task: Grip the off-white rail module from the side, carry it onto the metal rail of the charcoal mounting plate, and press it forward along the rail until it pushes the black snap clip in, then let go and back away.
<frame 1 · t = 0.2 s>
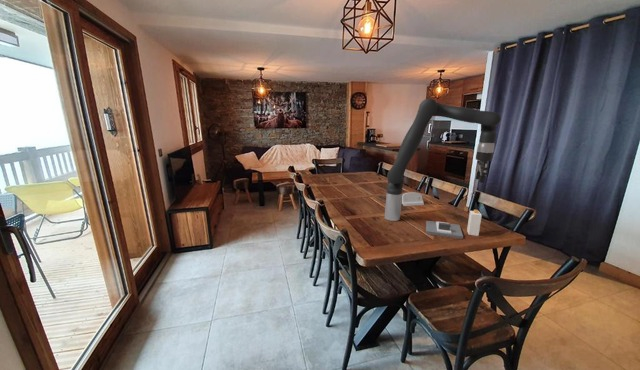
hand: (479, 180, 137), 29 cm above the table, tool pointing down, fingers open, 8 cm apart
mounting plate: (443, 230, 143), on the table
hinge: (411, 204, 188), on the table
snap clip: (444, 226, 139), point 4 cm above the table, slide at 0.0 cm
module: (472, 233, 139), on the table
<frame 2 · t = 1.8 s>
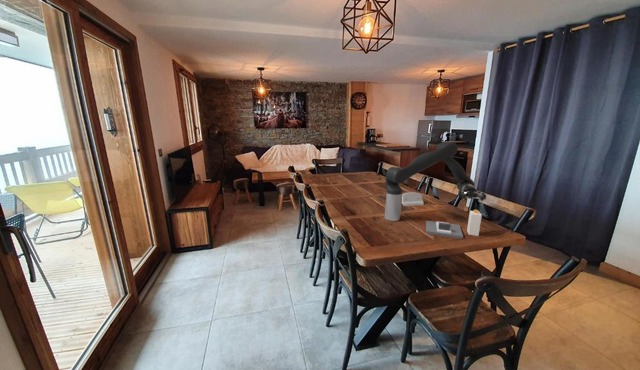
hand: (473, 198, 145), 17 cm above the table, tool horizontal, fingers open, 8 cm apart
nothing on the table moved.
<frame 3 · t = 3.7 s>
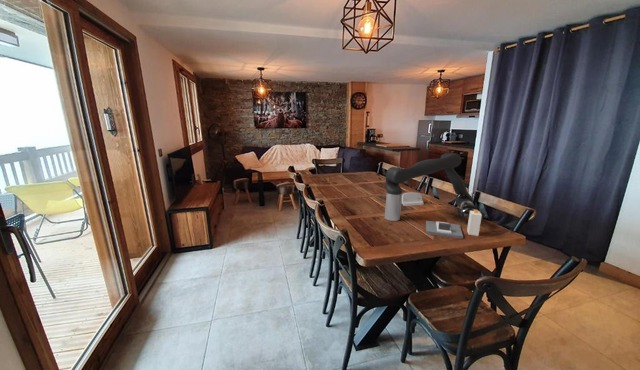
hand: (472, 216, 143), 7 cm above the table, tool horizontal, fingers open, 8 cm apart
nothing on the table moved.
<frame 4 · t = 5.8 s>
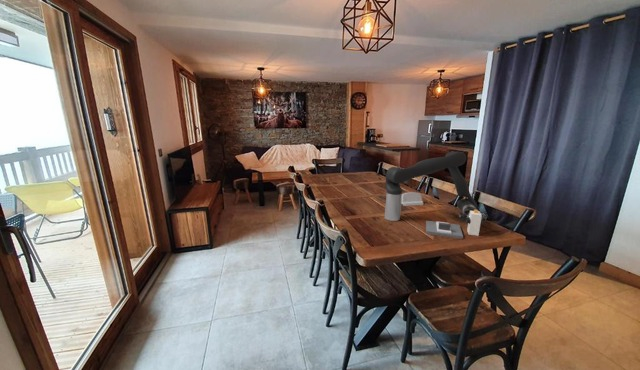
hand: (475, 222, 135), 7 cm above the table, tool horizontal, fingers closed on module, 4 cm apart
module: (472, 232, 139), on the table, touching gripper
everything else where it was.
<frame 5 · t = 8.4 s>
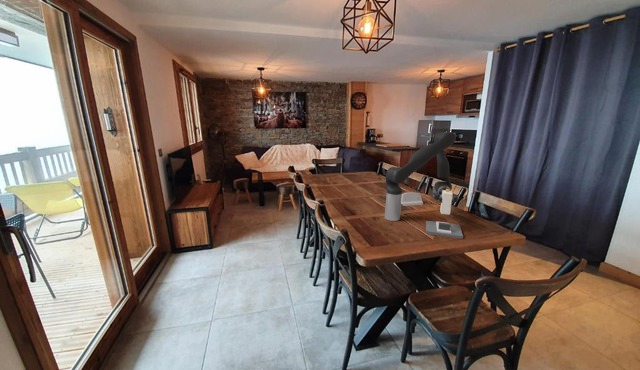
hand: (446, 201, 137), 18 cm above the table, tool horizontal, fingers closed on module, 4 cm apart
module: (444, 212, 141), point 10 cm above the table, touching gripper
everything else where it was.
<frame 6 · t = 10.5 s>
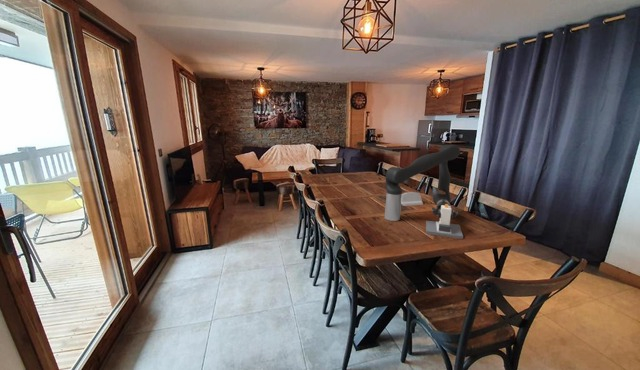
hand: (445, 216, 136), 10 cm above the table, tool horizontal, fingers closed on module, 4 cm apart
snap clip: (444, 227, 137), point 4 cm above the table, slide at 2.3 cm, touching module
module: (443, 227, 141), point 3 cm above the table, touching gripper, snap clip
everything else where it was.
when the fingers open (10 cm above the table, at t = 10.8 s): module stays where it is, resting on mounting plate.
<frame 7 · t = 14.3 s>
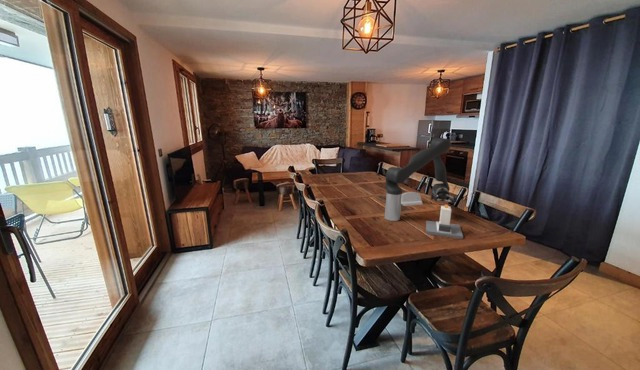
hand: (444, 200, 148), 15 cm above the table, tool horizontal, fingers open, 8 cm apart
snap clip: (444, 228, 136), point 4 cm above the table, slide at 2.3 cm
module: (443, 227, 141), point 2 cm above the table, touching mounting plate
everything else where it was.
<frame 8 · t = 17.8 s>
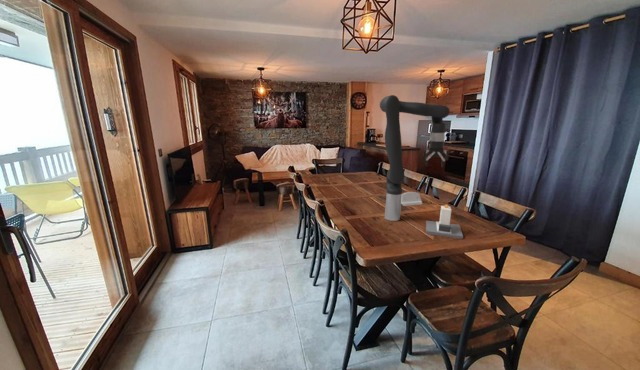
hand: (434, 166, 155), 33 cm above the table, tool pointing down, fingers open, 8 cm apart
at the end: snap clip slide at 2.3 cm; module 0.6 cm from the target spot on the mounting plate, point 2.2 cm above the mounting plate's base; module tilted 0° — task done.
